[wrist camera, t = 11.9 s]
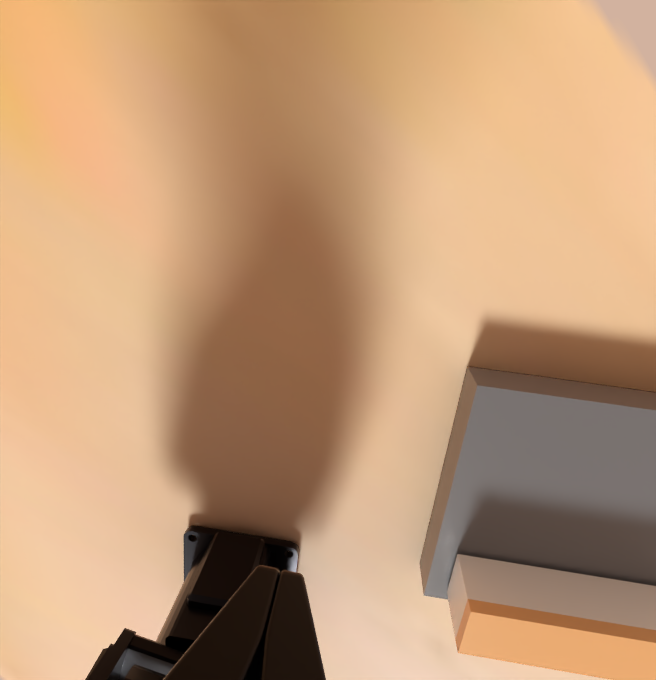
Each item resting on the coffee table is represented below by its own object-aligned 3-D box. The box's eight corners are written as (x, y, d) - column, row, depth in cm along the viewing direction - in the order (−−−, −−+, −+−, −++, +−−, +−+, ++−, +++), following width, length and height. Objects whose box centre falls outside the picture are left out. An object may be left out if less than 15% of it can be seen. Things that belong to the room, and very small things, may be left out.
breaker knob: (652, 626, 21) (695, 694, 18) (446, 591, 22) (457, 652, 19) (672, 588, 20) (720, 653, 17) (457, 554, 21) (470, 611, 18)
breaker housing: (642, 599, 23) (665, 636, 21) (419, 563, 24) (423, 595, 22) (739, 404, 19) (779, 427, 17) (467, 366, 20) (477, 385, 18)
